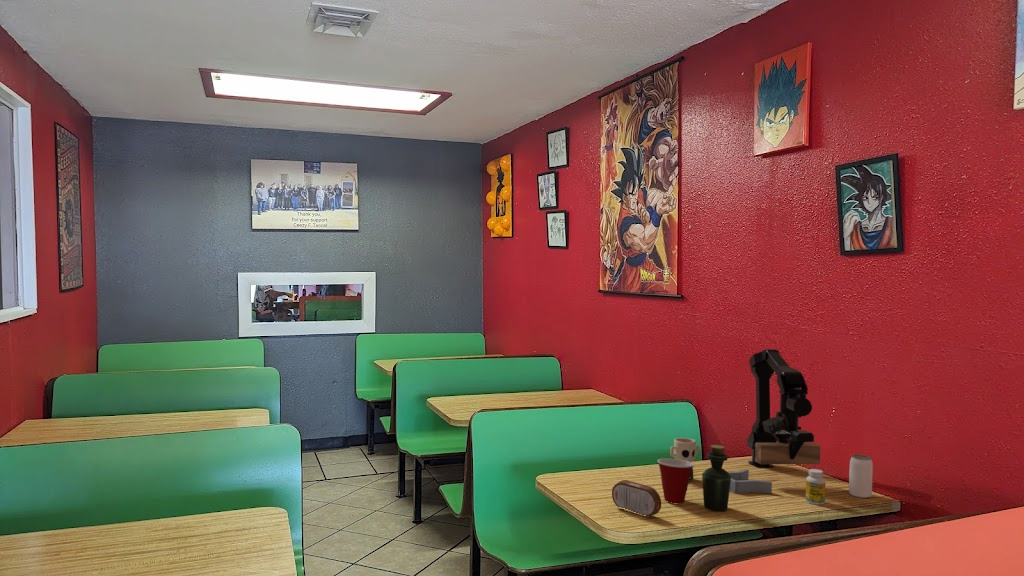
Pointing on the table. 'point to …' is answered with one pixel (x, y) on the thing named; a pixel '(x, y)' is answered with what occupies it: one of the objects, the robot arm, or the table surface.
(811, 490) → the supplement bottle
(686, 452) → the character mug
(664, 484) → the plastic cup
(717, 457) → the potion bottle
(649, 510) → the tin
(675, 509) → the table surface
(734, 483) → the grey stepped block
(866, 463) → the can
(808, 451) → the walnut slat
